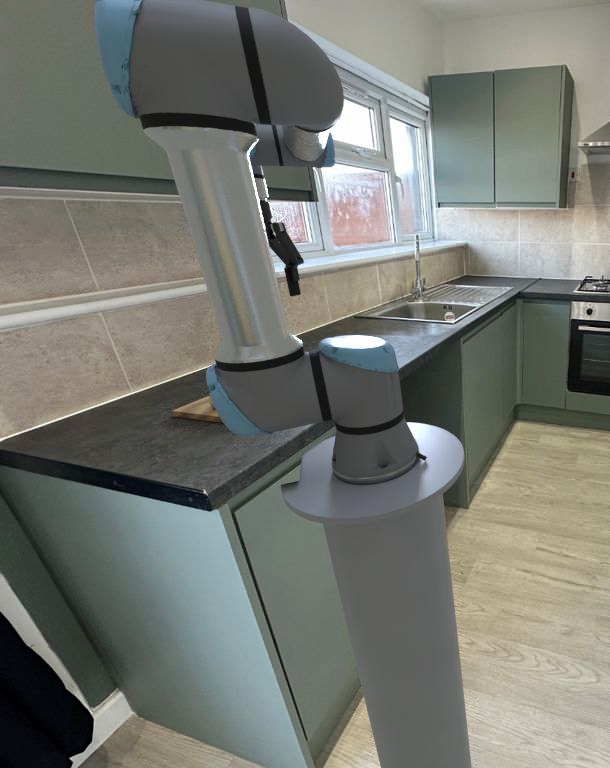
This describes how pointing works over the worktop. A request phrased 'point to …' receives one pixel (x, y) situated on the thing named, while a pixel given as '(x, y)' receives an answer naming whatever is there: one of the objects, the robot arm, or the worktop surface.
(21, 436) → the worktop surface
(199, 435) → the worktop surface
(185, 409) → the cutting board
